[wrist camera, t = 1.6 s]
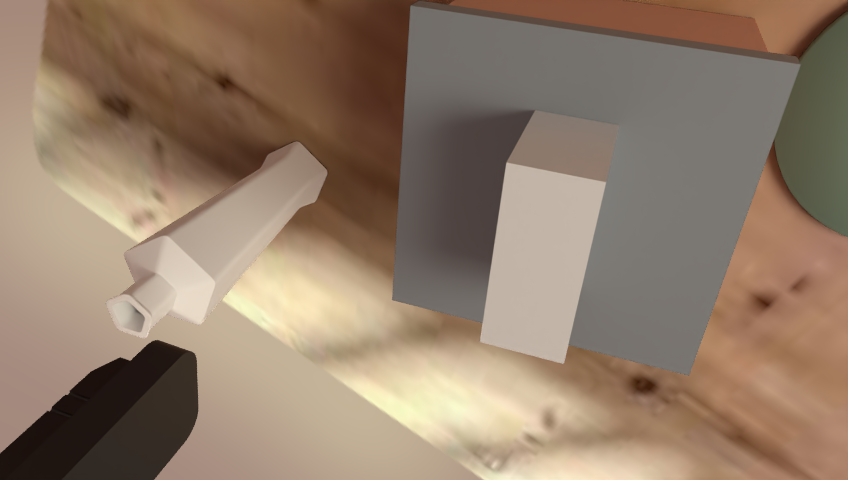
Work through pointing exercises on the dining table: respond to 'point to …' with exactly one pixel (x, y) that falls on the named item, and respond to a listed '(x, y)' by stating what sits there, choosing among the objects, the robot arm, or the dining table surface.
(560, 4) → the crate
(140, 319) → the perfume bottle
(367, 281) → the dining table surface
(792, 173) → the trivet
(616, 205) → the lid
